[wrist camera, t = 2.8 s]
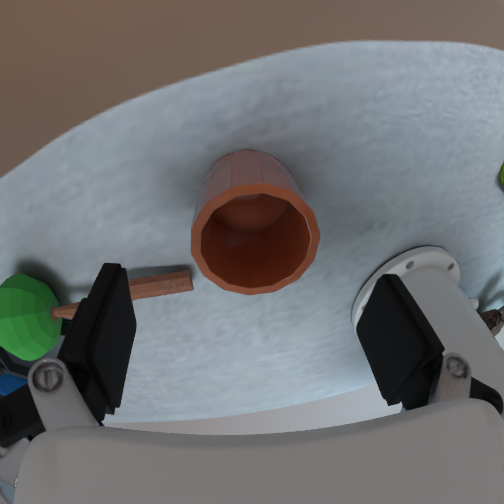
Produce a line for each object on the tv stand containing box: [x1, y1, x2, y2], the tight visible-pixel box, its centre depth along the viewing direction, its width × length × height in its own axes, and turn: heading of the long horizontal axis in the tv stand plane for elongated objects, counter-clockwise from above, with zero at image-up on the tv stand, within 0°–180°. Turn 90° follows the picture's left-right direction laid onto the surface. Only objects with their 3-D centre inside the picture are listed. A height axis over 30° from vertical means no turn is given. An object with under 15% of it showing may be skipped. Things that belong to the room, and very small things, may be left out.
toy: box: [479, 305, 504, 336], centre depth 26 cm, size 19×10×15 cm
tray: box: [0, 320, 71, 379], centre depth 27 cm, size 16×12×2 cm
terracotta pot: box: [191, 150, 320, 295], centre depth 17 cm, size 6×6×6 cm
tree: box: [0, 270, 194, 361], centre depth 21 cm, size 8×8×20 cm
